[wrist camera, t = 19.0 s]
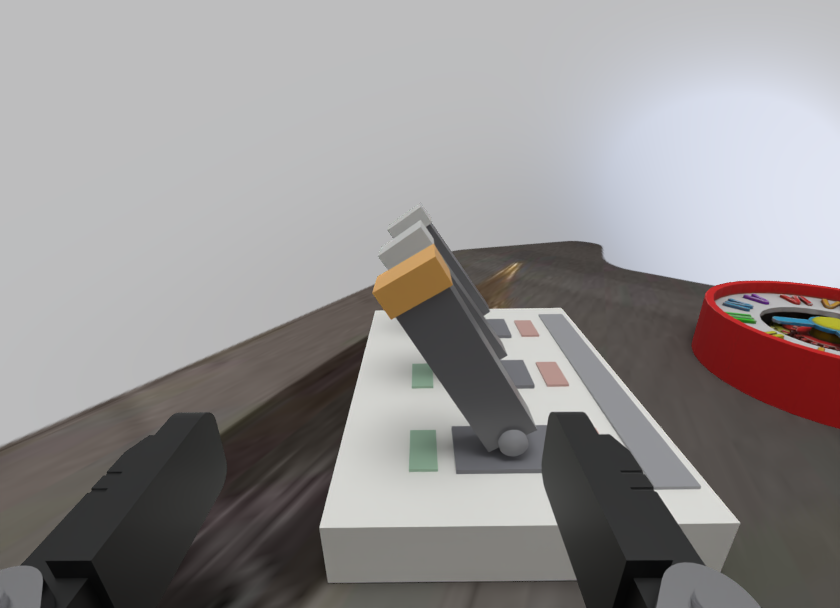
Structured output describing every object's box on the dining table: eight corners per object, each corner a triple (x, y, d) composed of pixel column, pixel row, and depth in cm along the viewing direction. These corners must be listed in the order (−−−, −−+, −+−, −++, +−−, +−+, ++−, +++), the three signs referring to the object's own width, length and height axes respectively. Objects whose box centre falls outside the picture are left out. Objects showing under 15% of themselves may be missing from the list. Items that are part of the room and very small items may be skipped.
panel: (328, 582, 21) (318, 523, 19) (377, 343, 45) (375, 308, 43) (717, 578, 20) (742, 518, 19) (557, 341, 45) (561, 305, 43)
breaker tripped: (492, 467, 22) (372, 293, 18) (485, 435, 25) (377, 276, 21) (548, 442, 22) (435, 257, 18) (535, 412, 24) (433, 242, 20)
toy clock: (905, 291, 42) (1139, 402, 24) (881, 341, 44) (1080, 475, 27) (684, 273, 48) (744, 351, 31) (673, 317, 50) (723, 413, 33)
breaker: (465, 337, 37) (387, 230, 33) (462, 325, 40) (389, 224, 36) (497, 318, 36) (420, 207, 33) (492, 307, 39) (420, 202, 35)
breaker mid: (476, 386, 30) (377, 257, 26) (472, 368, 32) (381, 246, 28) (516, 363, 29) (420, 227, 25) (509, 346, 32) (420, 219, 28)
